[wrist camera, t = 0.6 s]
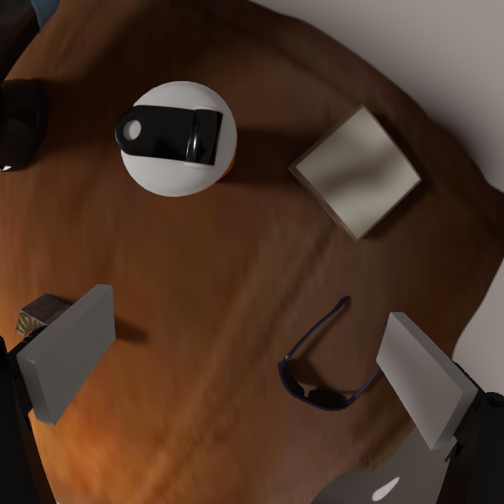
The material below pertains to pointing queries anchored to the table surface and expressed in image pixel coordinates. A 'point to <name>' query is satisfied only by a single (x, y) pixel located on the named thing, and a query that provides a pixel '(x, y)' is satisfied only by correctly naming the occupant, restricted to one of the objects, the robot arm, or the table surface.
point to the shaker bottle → (178, 139)
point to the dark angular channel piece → (39, 314)
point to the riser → (356, 173)
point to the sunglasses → (317, 397)
